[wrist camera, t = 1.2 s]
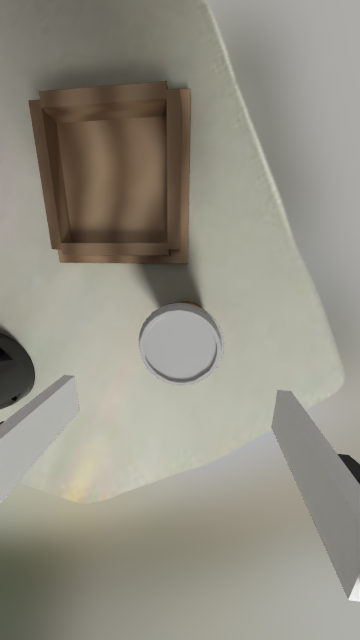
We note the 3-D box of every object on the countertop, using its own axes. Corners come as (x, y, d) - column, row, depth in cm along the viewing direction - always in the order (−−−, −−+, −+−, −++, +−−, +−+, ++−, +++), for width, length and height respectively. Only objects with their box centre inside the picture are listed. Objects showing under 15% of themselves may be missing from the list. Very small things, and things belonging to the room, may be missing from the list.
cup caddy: (65, 262, 31) (47, 261, 27) (42, 107, 26) (17, 81, 22) (187, 263, 29) (186, 262, 25) (191, 97, 24) (189, 67, 20)
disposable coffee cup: (175, 280, 30) (160, 287, 18) (227, 310, 30) (244, 336, 19) (148, 329, 32) (121, 362, 21) (196, 356, 33) (195, 403, 21)
